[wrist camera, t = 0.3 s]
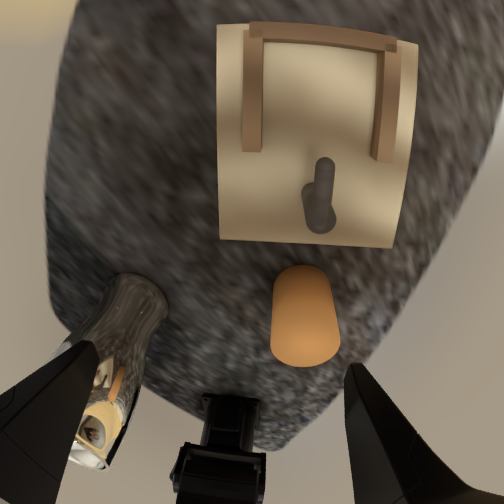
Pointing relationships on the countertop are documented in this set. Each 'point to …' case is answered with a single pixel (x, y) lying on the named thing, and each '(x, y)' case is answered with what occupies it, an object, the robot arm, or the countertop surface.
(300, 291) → the orange rounded capsule
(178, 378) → the countertop surface
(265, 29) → the hook board
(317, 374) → the countertop surface
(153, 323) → the silver tall piece
